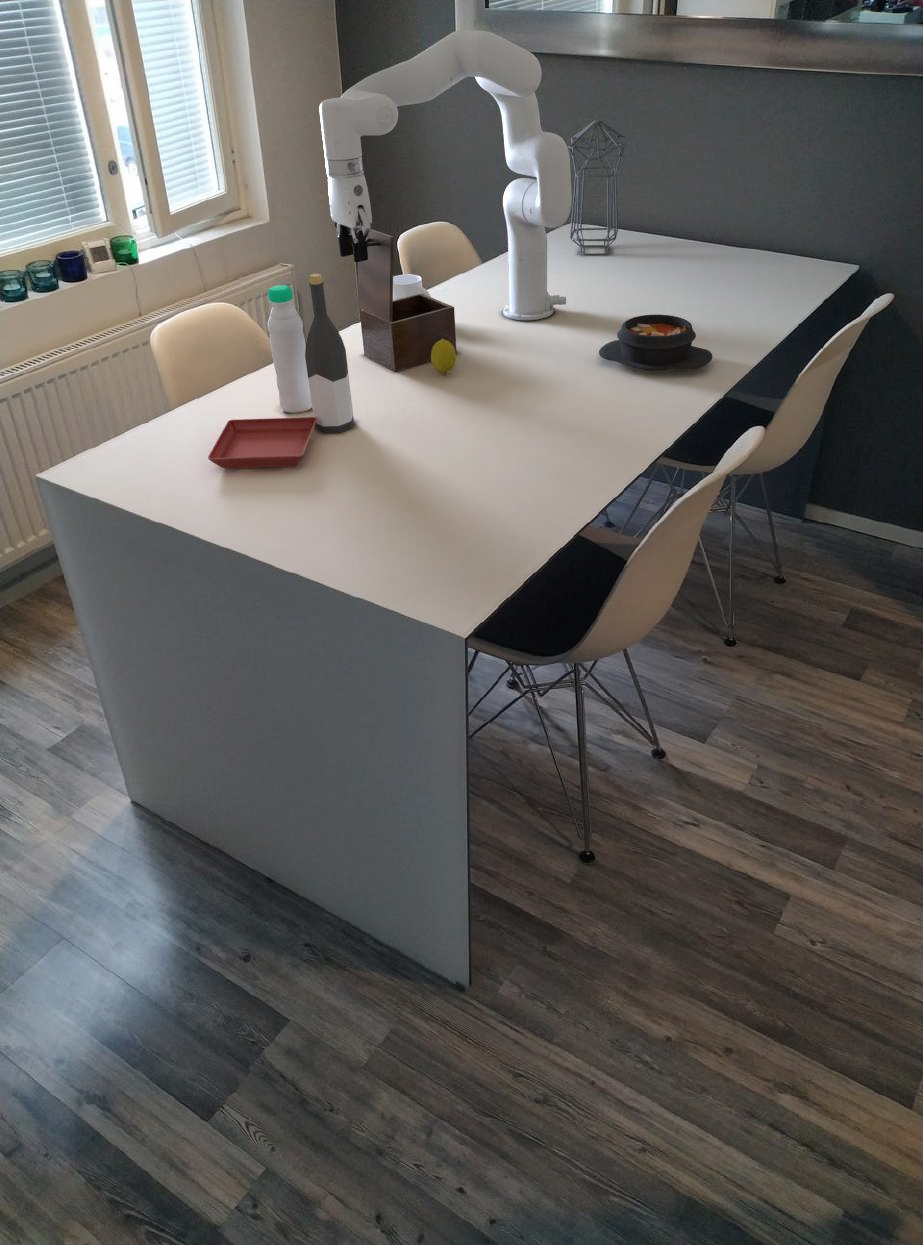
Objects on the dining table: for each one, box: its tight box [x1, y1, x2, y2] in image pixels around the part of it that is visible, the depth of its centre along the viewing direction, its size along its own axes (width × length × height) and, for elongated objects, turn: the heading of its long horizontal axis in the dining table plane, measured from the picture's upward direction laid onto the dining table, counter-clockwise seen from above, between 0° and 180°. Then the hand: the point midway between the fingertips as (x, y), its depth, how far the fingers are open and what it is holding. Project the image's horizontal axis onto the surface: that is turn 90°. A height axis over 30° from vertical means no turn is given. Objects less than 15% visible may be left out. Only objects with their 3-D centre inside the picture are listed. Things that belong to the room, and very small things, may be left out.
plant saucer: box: [207, 416, 317, 469], centre depth 194 cm, size 18×18×3 cm
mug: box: [393, 274, 432, 300], centre depth 251 cm, size 12×8×10 cm
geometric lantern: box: [567, 119, 626, 256], centre depth 288 cm, size 16×16×35 cm
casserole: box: [598, 314, 713, 372], centre depth 221 cm, size 25×19×8 cm
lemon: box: [430, 339, 457, 375], centre depth 222 cm, size 6×6×8 cm
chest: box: [358, 293, 458, 373], centre depth 232 cm, size 17×14×11 cm
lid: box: [349, 224, 395, 322], centre depth 219 cm, size 18×14×6 cm
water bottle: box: [267, 284, 312, 414], centre depth 205 cm, size 7×7×25 cm
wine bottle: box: [305, 273, 354, 434], centre depth 195 cm, size 8×8×30 cm
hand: (354, 257), depth 216 cm, fingers closed on lid, 5 cm apart
